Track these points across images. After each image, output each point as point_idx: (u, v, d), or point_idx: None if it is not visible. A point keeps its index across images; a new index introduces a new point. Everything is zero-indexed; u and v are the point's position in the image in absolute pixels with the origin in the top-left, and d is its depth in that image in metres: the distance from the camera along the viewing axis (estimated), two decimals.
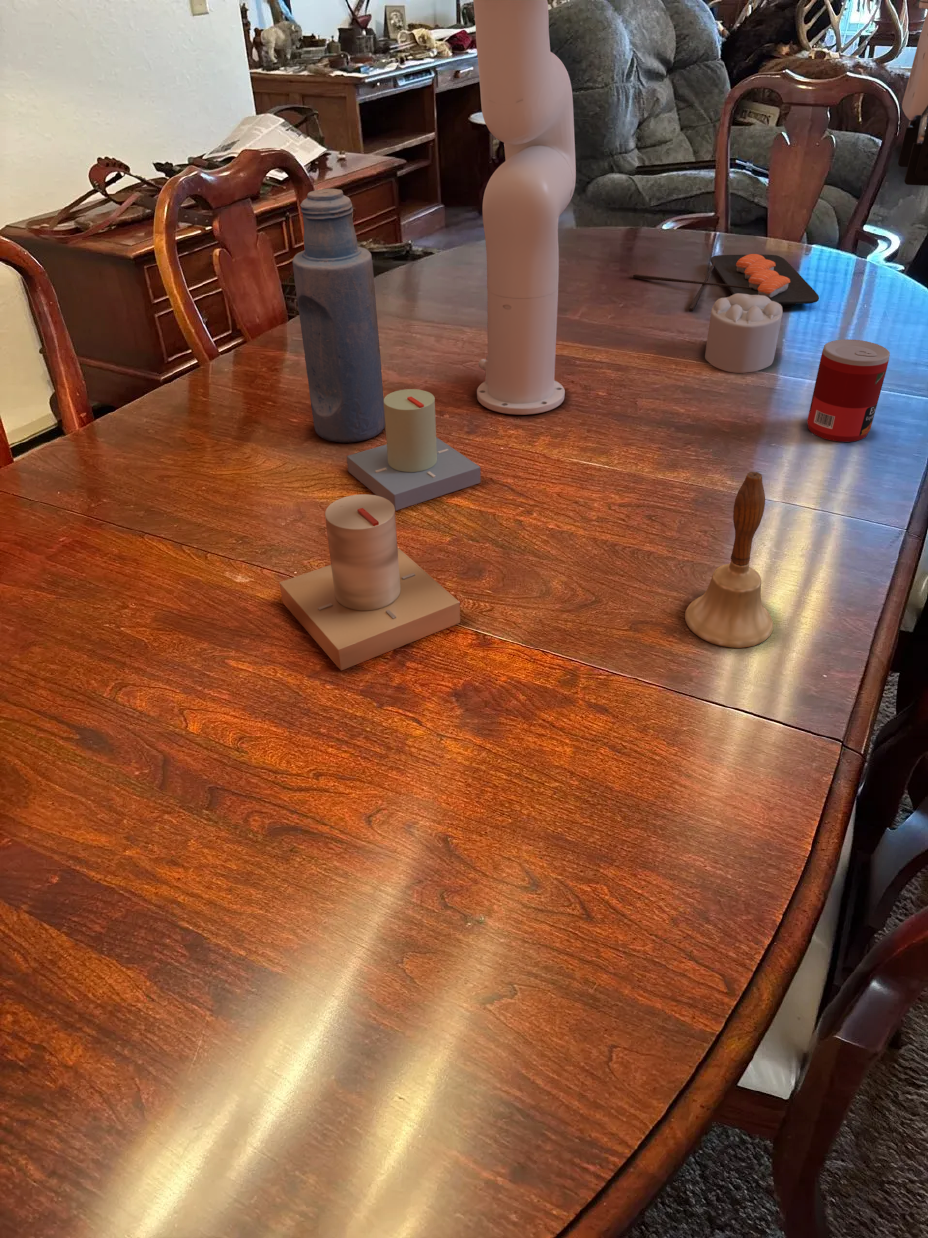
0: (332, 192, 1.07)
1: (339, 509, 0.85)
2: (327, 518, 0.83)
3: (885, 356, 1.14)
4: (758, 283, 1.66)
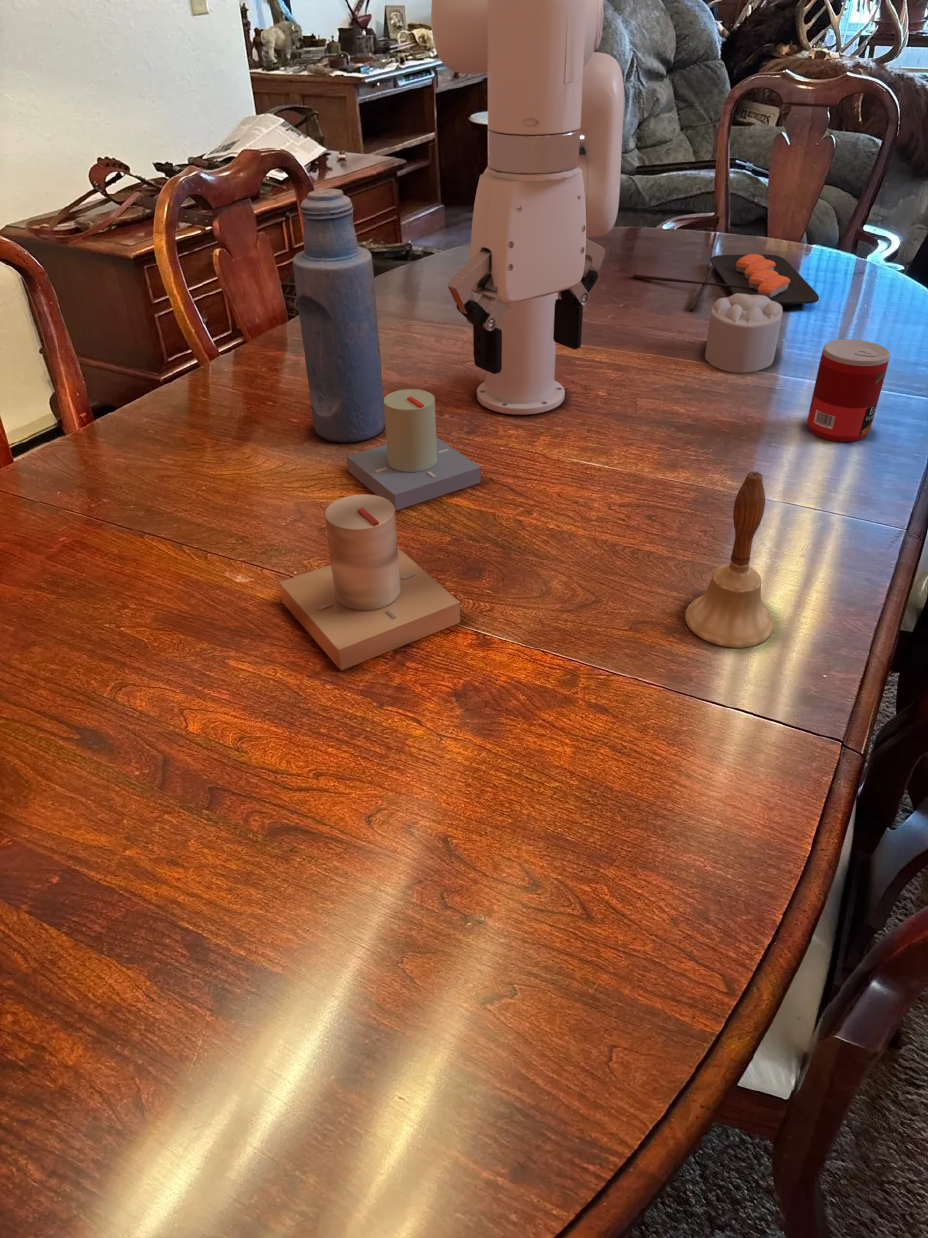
0: (332, 192, 1.07)
1: (339, 509, 0.85)
2: (327, 518, 0.83)
3: (885, 356, 1.14)
4: (758, 283, 1.66)
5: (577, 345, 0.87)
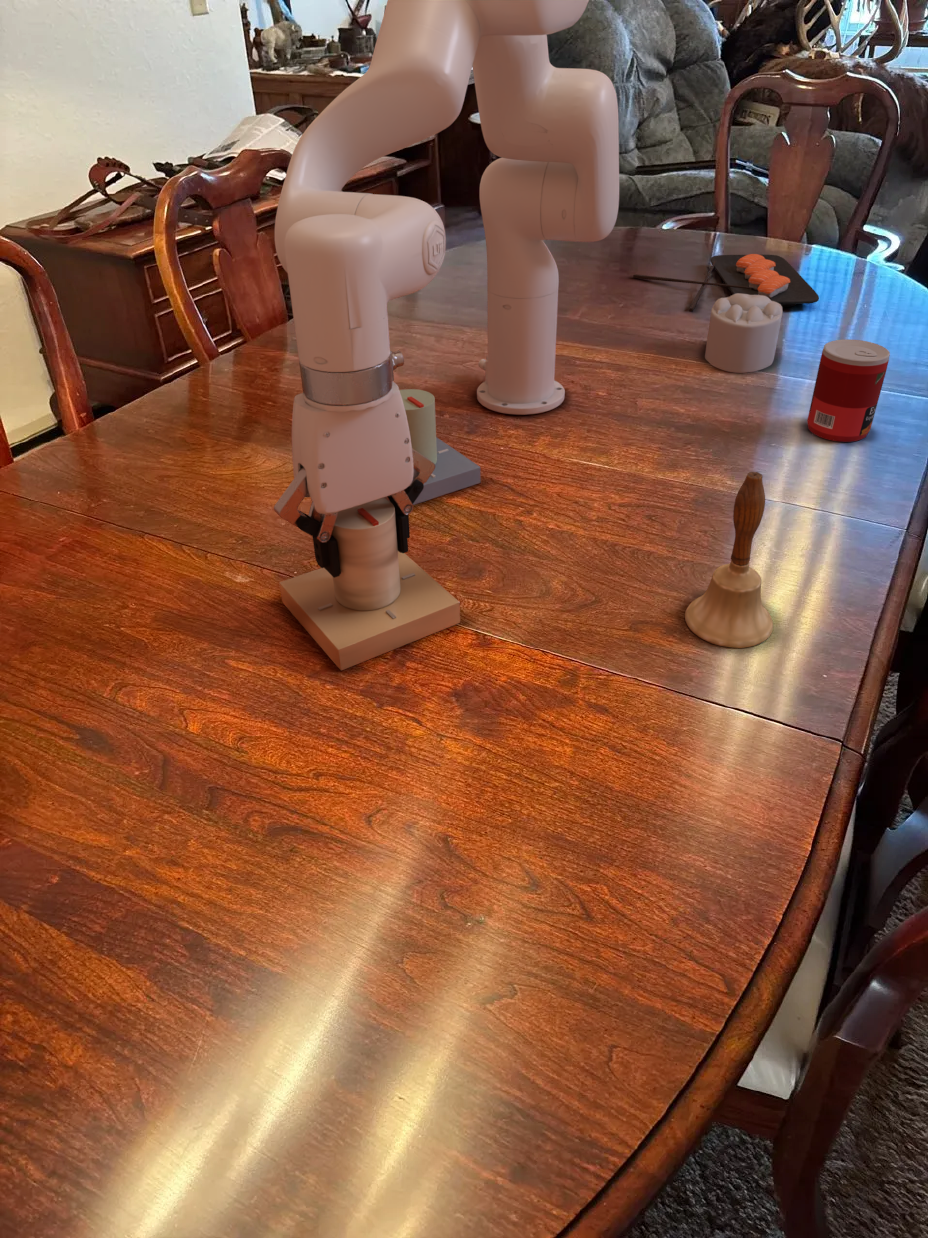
0: None
1: None
2: None
3: (885, 356, 1.14)
4: (758, 283, 1.66)
5: (404, 550, 0.88)
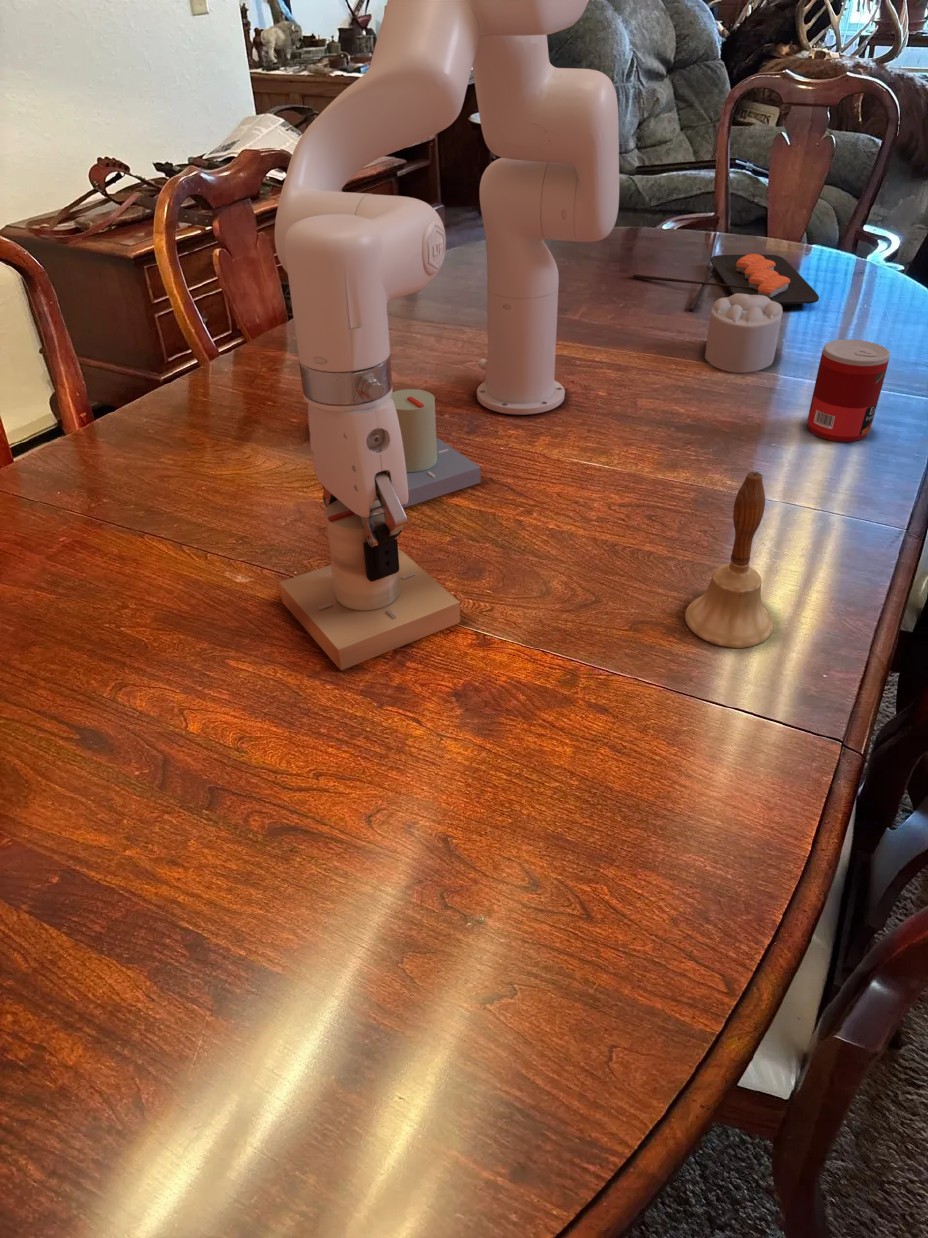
0: None
1: None
2: None
3: (885, 356, 1.14)
4: (758, 283, 1.66)
5: (366, 576, 0.84)
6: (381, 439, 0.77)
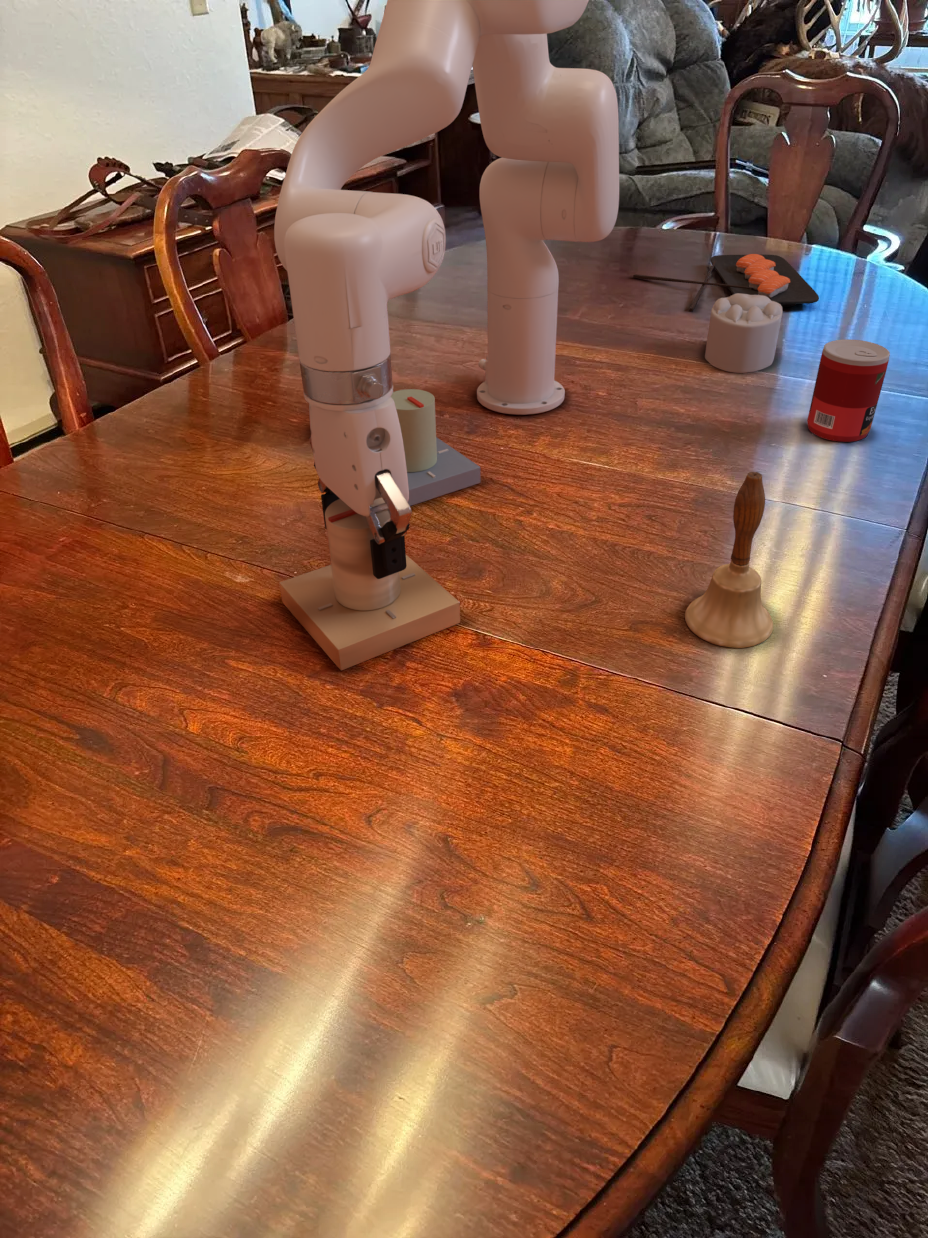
0: None
1: None
2: None
3: (885, 356, 1.14)
4: (758, 283, 1.66)
5: (373, 573, 0.83)
6: (381, 438, 0.77)
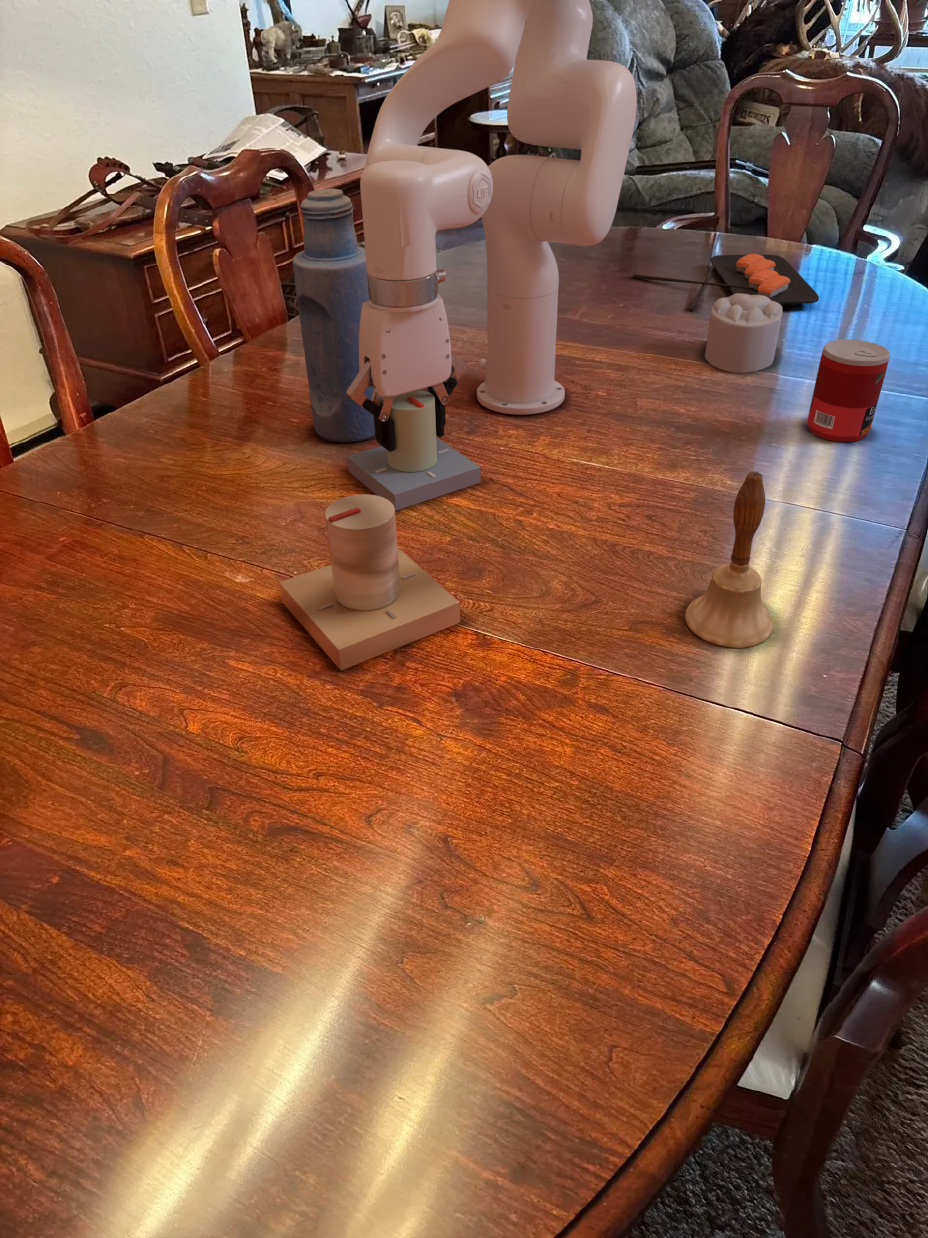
0: (332, 192, 1.07)
1: (363, 500, 0.86)
2: (347, 496, 0.87)
3: (885, 356, 1.14)
4: (758, 283, 1.66)
5: (441, 434, 1.11)
6: None
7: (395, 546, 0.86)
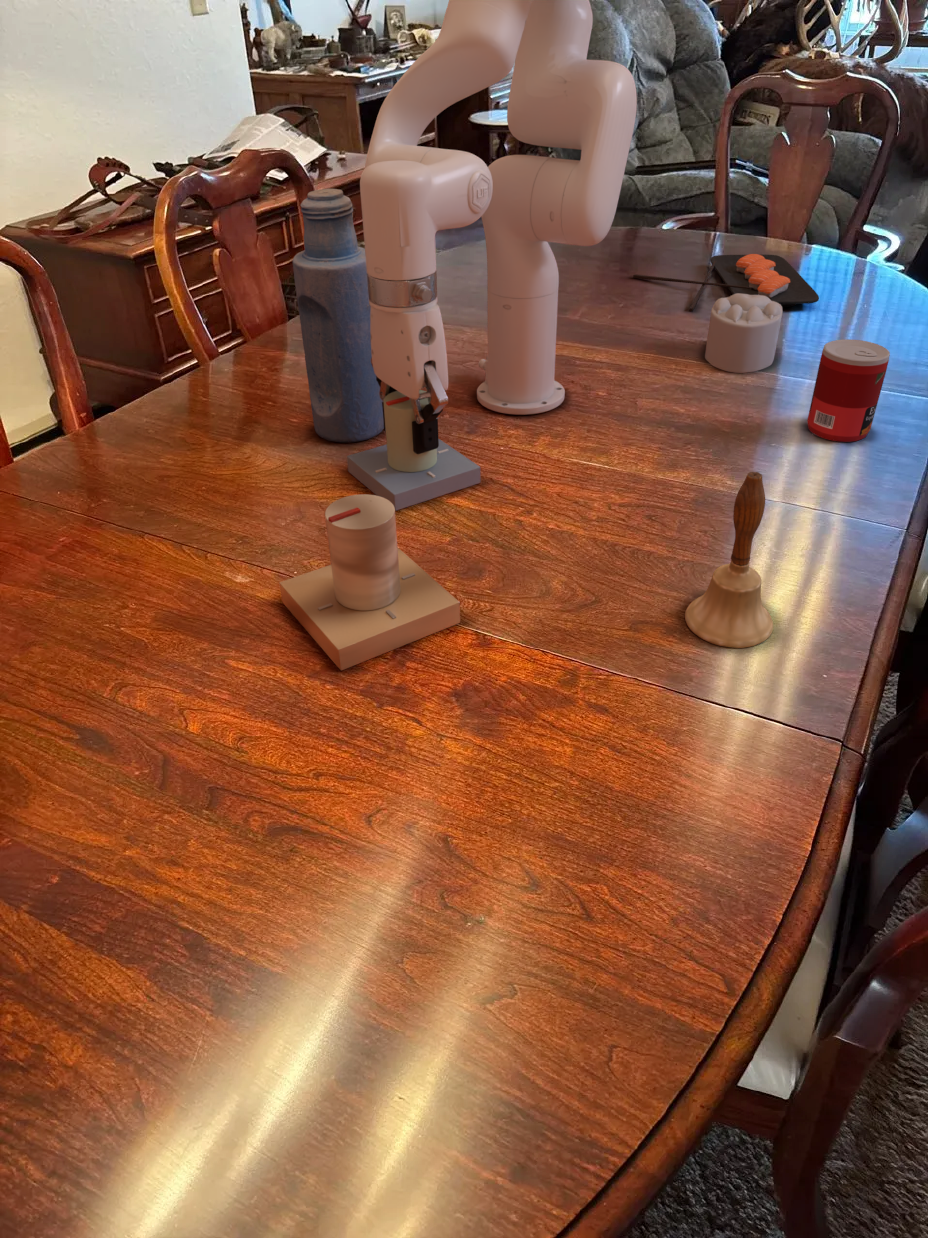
0: (332, 192, 1.07)
1: (363, 500, 0.86)
2: (347, 496, 0.87)
3: (885, 356, 1.14)
4: (758, 283, 1.66)
5: (413, 449, 1.08)
6: (429, 336, 1.01)
7: (395, 546, 0.86)
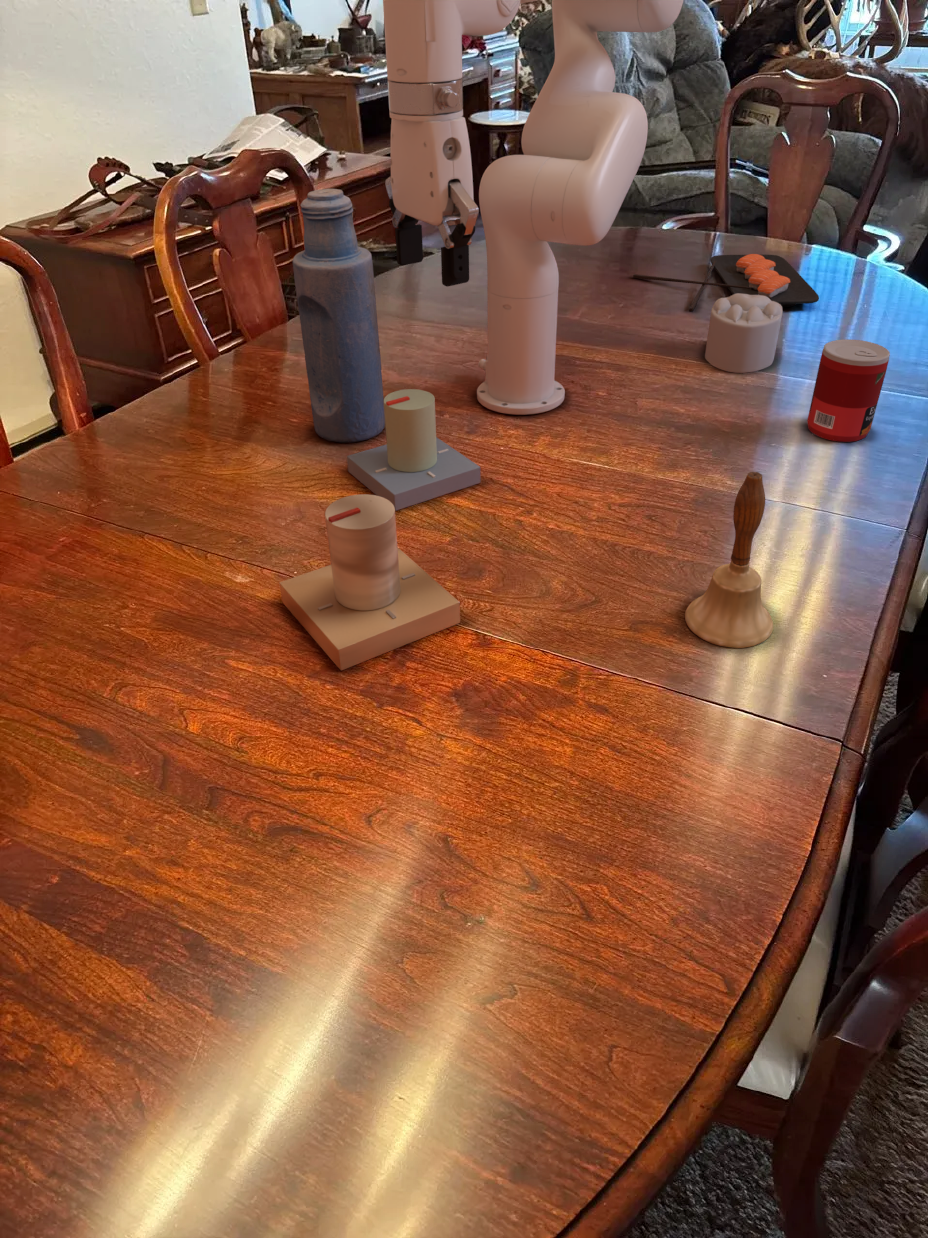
0: (332, 192, 1.07)
1: (363, 500, 0.86)
2: (347, 496, 0.87)
3: (885, 356, 1.14)
4: (758, 283, 1.66)
5: (442, 281, 0.99)
6: (453, 152, 0.94)
7: (395, 546, 0.86)
